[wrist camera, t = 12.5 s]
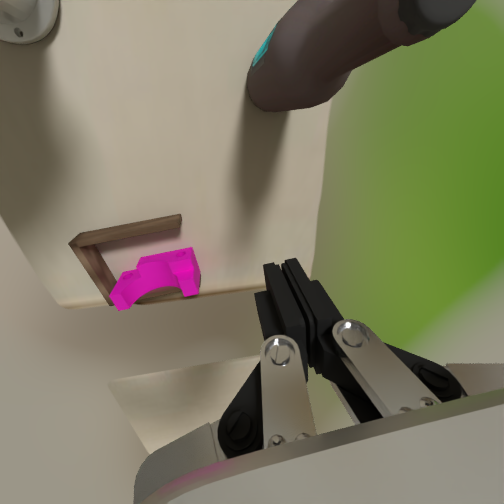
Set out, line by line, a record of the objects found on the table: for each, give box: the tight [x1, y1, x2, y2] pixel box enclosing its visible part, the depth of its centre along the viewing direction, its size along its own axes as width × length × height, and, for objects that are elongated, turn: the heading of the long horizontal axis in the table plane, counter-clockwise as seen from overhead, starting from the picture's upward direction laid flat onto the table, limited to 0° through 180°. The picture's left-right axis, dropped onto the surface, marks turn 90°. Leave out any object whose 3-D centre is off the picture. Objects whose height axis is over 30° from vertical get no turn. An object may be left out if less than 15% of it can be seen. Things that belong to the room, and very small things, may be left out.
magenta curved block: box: [109, 247, 200, 311], centre depth 43 cm, size 15×6×8 cm, turn 98°
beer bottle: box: [247, 0, 476, 112], centre depth 21 cm, size 8×8×30 cm
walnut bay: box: [68, 214, 201, 306], centre depth 43 cm, size 15×18×4 cm
